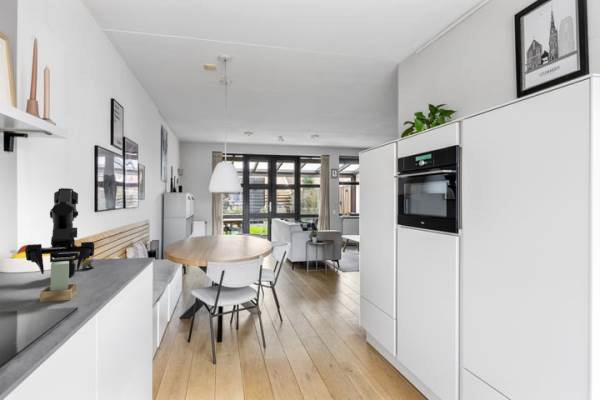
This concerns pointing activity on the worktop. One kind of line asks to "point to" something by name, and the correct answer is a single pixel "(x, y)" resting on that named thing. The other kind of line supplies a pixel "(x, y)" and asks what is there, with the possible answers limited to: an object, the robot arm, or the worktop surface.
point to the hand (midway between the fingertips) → (60, 271)
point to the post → (59, 276)
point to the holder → (58, 294)
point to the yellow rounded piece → (87, 263)
